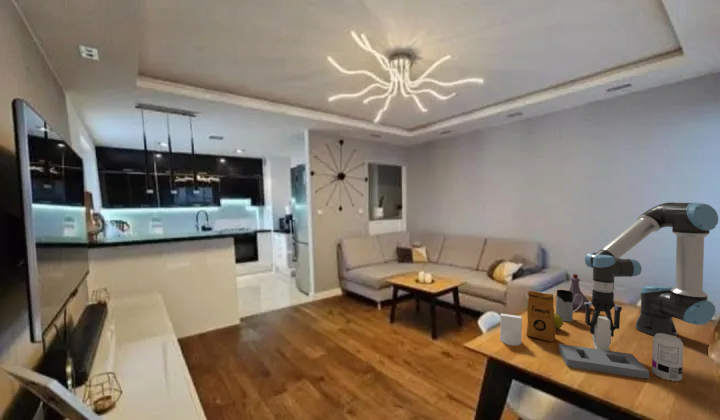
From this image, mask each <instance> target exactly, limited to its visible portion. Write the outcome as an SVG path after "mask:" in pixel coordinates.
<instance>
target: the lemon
mask: <svg viewBox="0 0 720 420" xmlns="http://www.w3.org/2000/svg"><path fill="white" fill-rule="evenodd" d="M554 323H555V326H556V330H558V329H561V328H562V326H563V325H564V321H562V319H561V317H560V316H559V315H557V314H556V312H554Z"/></svg>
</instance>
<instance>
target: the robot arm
mask: <svg viewBox="0 0 720 420" xmlns="http://www.w3.org/2000/svg"><path fill="white" fill-rule="evenodd" d="M718 224H719V214H718V212H717V211H716V209H715V208H713V207H712V206H711V205H710V204H706V203H701V202H673V201H672V202H671V201H670V202H669V201H668V202H663V203H660V204H658V205H655V206H653V207H651V208H649V209H648V210H646V211H645V212H643V213H641V214H640V215H639V216H638V217H637V220H636V221H635V222H634V223H632V224H631V225H630V226H629V227H627V228H626V229H625V230H624V231H623V232H621V233H620V234H619V235H618V236H617V237H615V238H613V240H611V241H609V243H607V244H606V245H605V246H603V247H602V248H601V249H600V250H598V251H597V252H589V253H587V254H586V255H585V258H584V263H585V265H586V266H587V267H589V268H591V269H592V295H591V296H592V298H591V300H590V302H588V303H587V302H584V305H585V308H584V309H585V314H584V316H585V317H584V320H585V321H584V323H585V324H586V325H587V326H589V333H590V335H592V341H593V344H594V343H596V340H597V328H596V327H595V325H596V322H597V318H598V316H600V314H601V312H604V313H605V317H607V318H608V319H609V320H610V346H611V344H612V338H613V337H614V336H615V335H614V334H615V330H620V324H621V323H620V322H621V312H622V310H623V308H622V306H621V305H619V304H615V302H614V301H615V300H614V299H615V298H614V297H615V295H614V294H615V293H614V291H615V286H614V285H615V278H622V277H623V278H627V277H629V278H632V277H637V276H639V275H641V273H642V269H643V268H642V267H643V266H642V265H641V263H640V262H639V261H638V260H636V259H632V258H631V259H630V258H626V259H625V258H621V257H622V256H623V255H625V254H626V253H627V252H629V251H630V250H631V249H633V248H634V247H635V246H636V245H638V244H639V243H640V242H642V240H644V239H645V238H647V237H648V236H649V235H650V234H651V233H655V232H658V231H659V230H661V229H663V228H672V230H671V232H672V233H673V235H675V236H676V248H675V249H676V250H675V251H676V252H675V254H676V255H675V256H676V257H675V259H676V260H675V286H674V287H672V286H668V285H658V284H645V285H643V286H642V287H641V292H640V314H639V316H638V317H637V320H636V321H635V329H636V330H637V331H640V332H641V333H644V334H646V335H650V336H653V337H654V336H655V335H656V334H657V333H663V334H669V335H672V336H676V337H677V336H678V331H677V328H676V325H675V323H674V320H673V318H674V319H678V320H680V321H683V322H685V323H688V324H693V325H696V326H703V325H706V324H708V323H710V321H712V320H713V318H714V316H715V314H716V306H715V305H714V303H713V302H711V301H710V300H708V294H707V293H706V292H705V291H704V289H703V288H704V283H703V282H704V258H705V257H704V256H705V255H704V253H705V252H704V251H705V237H707V236H708V235H709V234H710V231H712V230H714V229H716V227H717V225H718ZM592 306H593V307H594V309H593V314H592V316H591V308H592ZM612 309H613V310H614V312H613V313H614V315H613V317H614V318H612V312H611V310H612Z"/></svg>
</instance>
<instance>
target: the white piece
mask: <svg viewBox="0 0 720 420" xmlns="http://www.w3.org/2000/svg"><path fill="white" fill-rule="evenodd" d="M499 318H500V322H499V323H500V327H499V330H500V331H499V340H500V342H502V343H503V344H505V345H508V346H520V345H522V325H523V322H522V321H523V320H522V319H523V318H522V316H521V315H516V314H515V315H514V314H507V313H500V317H499Z"/></svg>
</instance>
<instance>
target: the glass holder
mask: <svg viewBox="0 0 720 420" xmlns="http://www.w3.org/2000/svg"><path fill="white" fill-rule="evenodd" d="M577 295H580V294H576V295H575V297H574V301H575V298H576V296H577ZM555 297H556V298H555V314H557V315H559V316H560V317H561V319H562V322H574V318H573V316H574V315H573V314H574V313H575V312H576V311H579V310H578V309H579V308H580V307H581V305H582V302H583V296H582V295H581V297H582V301H581V304H580V306H579V307H578V308H577V309H573V302H574V301H573V292H571V291H568V290H567V289H557V290H556V295H555Z"/></svg>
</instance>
